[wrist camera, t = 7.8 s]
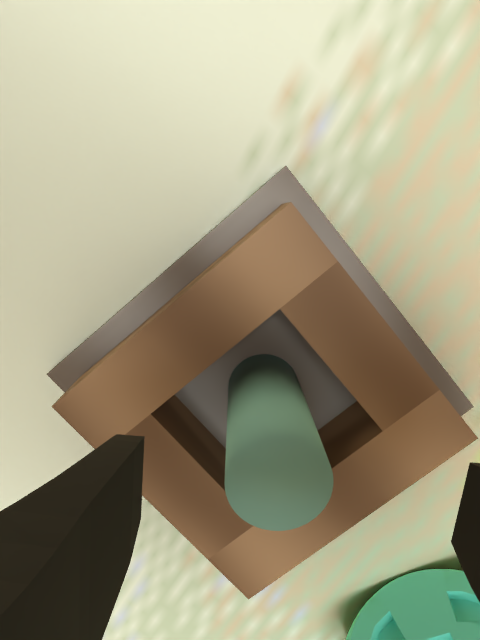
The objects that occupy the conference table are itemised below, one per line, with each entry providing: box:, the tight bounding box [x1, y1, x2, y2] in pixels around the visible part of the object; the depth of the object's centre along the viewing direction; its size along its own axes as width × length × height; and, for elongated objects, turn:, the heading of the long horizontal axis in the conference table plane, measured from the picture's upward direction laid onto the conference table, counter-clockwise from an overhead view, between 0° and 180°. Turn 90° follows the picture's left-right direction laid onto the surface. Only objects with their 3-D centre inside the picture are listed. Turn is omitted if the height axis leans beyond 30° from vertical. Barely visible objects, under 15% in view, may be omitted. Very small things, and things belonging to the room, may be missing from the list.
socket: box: [47, 166, 478, 599], centre depth 18 cm, size 13×13×4 cm
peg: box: [225, 354, 333, 531], centre depth 16 cm, size 3×3×7 cm
